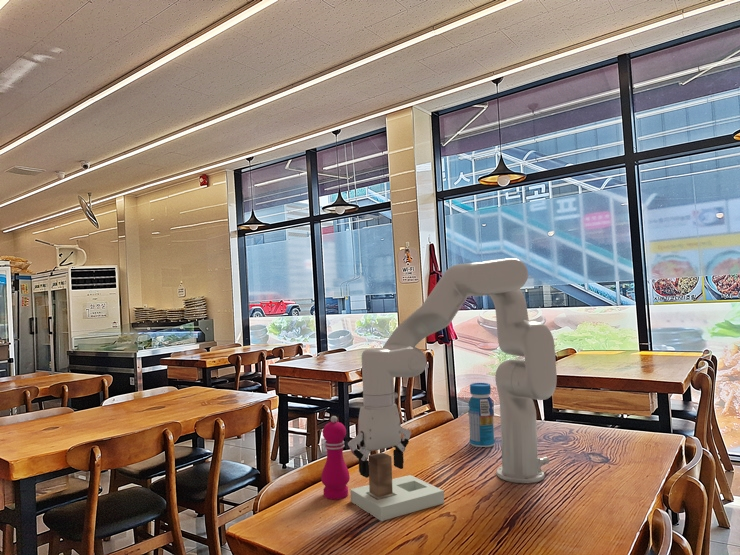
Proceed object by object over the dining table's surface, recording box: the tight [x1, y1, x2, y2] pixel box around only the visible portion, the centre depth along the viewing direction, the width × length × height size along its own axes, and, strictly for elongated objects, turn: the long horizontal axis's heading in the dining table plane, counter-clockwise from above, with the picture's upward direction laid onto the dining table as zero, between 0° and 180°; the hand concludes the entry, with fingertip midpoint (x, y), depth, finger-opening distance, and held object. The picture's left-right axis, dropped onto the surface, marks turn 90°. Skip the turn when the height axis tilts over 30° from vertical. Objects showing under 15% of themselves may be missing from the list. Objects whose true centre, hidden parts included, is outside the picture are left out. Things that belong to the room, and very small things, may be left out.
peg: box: [368, 452, 393, 500], centre depth 129 cm, size 4×4×12 cm
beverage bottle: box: [467, 382, 496, 448], centre depth 179 cm, size 8×8×20 cm
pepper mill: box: [320, 415, 350, 500], centre depth 137 cm, size 7×7×20 cm
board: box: [349, 474, 445, 522], centre depth 131 cm, size 18×14×3 cm
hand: (381, 471), depth 129 cm, fingers open, 9 cm apart
